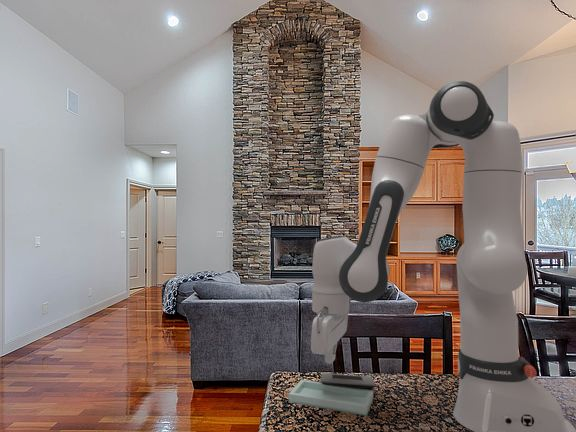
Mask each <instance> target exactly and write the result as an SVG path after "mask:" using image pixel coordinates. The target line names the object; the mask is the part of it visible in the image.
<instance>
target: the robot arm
mask: <svg viewBox="0 0 576 432" xmlns="http://www.w3.org/2000/svg"><path fill="white" fill-rule="evenodd" d="M494 116H495V114H494V112H493V110H492V108H491V106H490V105H489V104H488V102H487V100H486V97H485V95H484V94H483V92H482V90H481V89H480V88H479V87H478V86H477V85H475V84H473V83H471V82H468V81H465V80H462V81H460V80H459V81H453V82H450V83H448V84H446V85H445V86H443V87H441V88H440V89H438V91H437V92H436V93H435V95H434V96H433V98H432V99H431V101H430V104H429V108H428V110H427V111H426V112H425V113H423V114H419V115H416V114H409V113H408V114H406V113H405V114H402V115H398V116H396V117H395V118H393V119H392V120H391V122H390V124H389V125H388V127H387V129H386V131H385V134H384V135H383V138H382V140H381V143H380V145H379V147H378V151H377V153H376V157H375V160H374V165H373V168H372V170H373V171H372V175H371V182H370V183H371V184H370V196H369V205H368V209H367V212H366V216H365V219H364V222H363V225H362V228H361V232H360V235H359V238H358V242H357V243H356V242H353V241H352V240H350V239H349V238H348V237H347V236H345V235H335V236H329V237H324V238H320V239H318V241H316V242H315V244H314V248H313V254H312V266H311V267H312V269H311V270H312V271H311V272H312V273H311V274H312V277H313V285H312V289H311V290H312V291H311V292H312V293H311V295H312V296H311V310H312V312H314V313H316V316H315V317H314V318H313V320H312V325H311V335H310V336H311V337H310V349H311V353H313V354H315V355H323V356H324V363H326V364H329V365H330V364H333V363H334V361H335V360H336V351H337V347H338V342H339V341H340V339H341V338H342V337H343V336H344V335H345V334H346V332H347V329H348V322H349V321H348V320H349V312H350V306H351V304H352V303H351V302H352V300H353V301H356V302H358V303H359V302H360V303H370V302H374V301H376V300H377V299H379V298H381V297H382V296H383V294H385V292H386V290H387V287H388V283H389V282H388V281H389V276H390V265H389V261H387V255H388V250H389V247H390V243H391V240H392V237H393V233H394V230H395V227H396V225H397V222H398V219H399V217H400V215H401V213H402V211H403V209H404V208H405V206H407V204H408V203H409V202H410V201H411V199H412V198H413V196H414V195H415V193H416V190H417V189H418V187H419V185H420V183H421V180H422V177H423V175H424V172H425V168H426V165H427V161H428V158H429V155H430V154H431V153H430V152H431V151H432V149H441V148H442V149H445V148H447V149H448V148H453V147H454V148H455V147H457V146H460V147H461V149H462V150H463V151H462V152H463V157H464V166H463V167H464V169H463V185H462V186H463V188H462V208H461V209H462V210H461V211H462V216H463V217H462V221H463V243H462V245H461V246H460V247H459V249H458V251H457V253H456V259H455V260H456V278H457V291H458V293H457V294H458V304H459V315H460V316H459V318H460V319H459V322H460V324H459V325H460V328H459V329H460V330H459V331H460V348H459V349H458V356H457V374H458V377H459V384H458V391H457V395H456V396H457V397H456V401H455V405H454V408H453V411H452V415H453V418H454V419H455V420H456V421H457V422H458V423H459V424H460V425H461V426H463V427H464V428H466V429H467V430H470V431H472V432H576V429H575V427H574V426H573V425H572V423H571V422H569V420H567V419H566V418H565V417H564V412H563V409H562V406H561V405H560V403H559V402H558V400H557V399H556V397H555V396H554V395H553V394H552V393H551V392H550V391H549V390H547V389H546V388H544V387H543V386H542V385H541V384H540V383H538V382H537V381H536V380H535V379H533V378H535V377H536V376H537V370H536V368H535V367H534V366H533V365H531V363H530V362H529V361H528V360H526V359H525V358H524V357H523V356H520V353H519V319H518V316H517V311H516V307H515V301H514V294H513V292H514V291H517V289H519V288H521V286H522V285H523V284H524V283H525V281H526V279H527V276H528V264H527V261H526V255H525V254H526V253H525V241H524V231H523V225H522V216H521V214H522V213H521V212H522V211H521V204H522V203H521V199H522V198H521V197H522V180H523V179H522V177H523V175H522V174H523V155H522V154H523V153H522V147H521V139H520V135H519V134H520V133H519V131H518V129H517V127H516V125H513V124H512V123H510V122H507V121H505V120H504V121H503V120H494Z"/></svg>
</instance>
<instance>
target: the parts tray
mask: <svg viewBox="0 0 576 432" xmlns="http://www.w3.org/2000/svg"><path fill="white" fill-rule="evenodd" d="M373 401H374V390H371V389H368V388H364V389H360V388H354V387H346V386H333V385H324V384H322V383H321V381H320V382H319V381H312V380H307V379H300V380H299V382H298V383H297V384H296V385H295V386H294V387H293V388H292V390H290V392H289V393H288V403H290V404H294V405H295V404H296V405H302V406H308V407H313V408H320V409H326V410H331V411H336V412H343V413H348V414H353V415H358V416H359V415H360V416H366V417H367V416H368V414H369V411H370V409H371V407H372V403H373Z"/></svg>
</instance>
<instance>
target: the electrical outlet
mask: <svg viewBox="0 0 576 432" xmlns="http://www.w3.org/2000/svg"><path fill="white" fill-rule="evenodd" d="M320 382H321V383H322V384H324V385H333V386H346V387H354V388H360V389H374V388H376V383H375V381H374V379H373V377H372V376H369V375H357V374H353V375H352V374H345V373H344V374H341V373H330V372H329V373H328V372H326V373H325V372H321V378H320Z"/></svg>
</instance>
